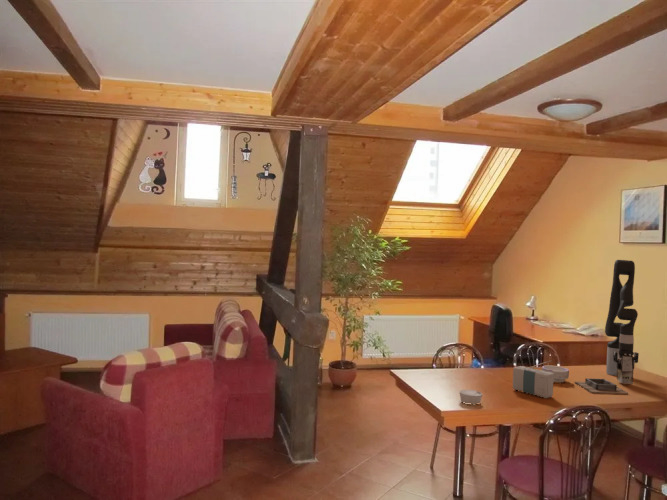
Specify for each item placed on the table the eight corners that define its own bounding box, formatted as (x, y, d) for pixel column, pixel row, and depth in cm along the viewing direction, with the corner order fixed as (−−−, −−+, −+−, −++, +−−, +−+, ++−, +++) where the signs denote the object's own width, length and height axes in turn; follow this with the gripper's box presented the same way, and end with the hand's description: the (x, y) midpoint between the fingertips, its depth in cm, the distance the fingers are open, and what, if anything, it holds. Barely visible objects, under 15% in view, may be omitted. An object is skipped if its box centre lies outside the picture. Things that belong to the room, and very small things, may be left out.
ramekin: (485, 406, 268) (485, 395, 268) (463, 406, 268) (463, 395, 268) (477, 399, 280) (477, 389, 280) (456, 399, 279) (456, 389, 279)
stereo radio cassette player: (511, 390, 299) (512, 354, 299) (520, 388, 304) (521, 353, 304) (546, 400, 282) (547, 362, 282) (554, 397, 287) (555, 360, 287)
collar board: (574, 383, 319) (574, 376, 319) (608, 384, 319) (608, 377, 319) (591, 393, 297) (592, 386, 297) (628, 394, 297) (628, 387, 297)
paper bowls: (574, 383, 318) (574, 370, 318) (554, 385, 313) (554, 371, 313) (555, 377, 333) (556, 364, 333) (535, 378, 328) (536, 365, 327)
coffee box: (633, 384, 314) (634, 356, 313) (621, 383, 315) (622, 356, 315) (628, 380, 323) (629, 353, 322) (616, 379, 324) (617, 352, 324)
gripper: (635, 341, 322) (634, 368, 322) (611, 340, 322) (610, 367, 323) (642, 343, 314) (641, 371, 315) (617, 342, 315) (616, 370, 315)
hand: (625, 369), depth 319 cm, fingers closed on coffee box, 7 cm apart
